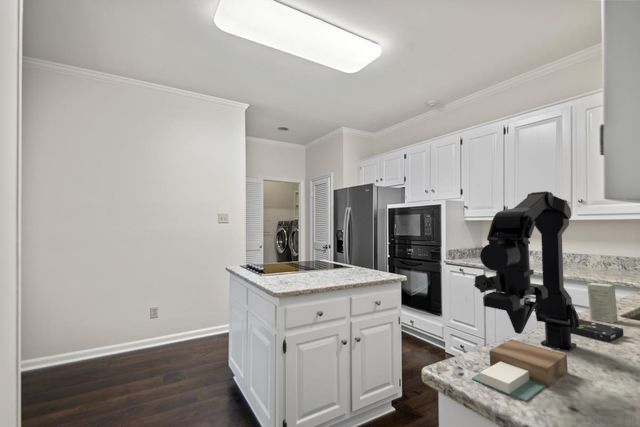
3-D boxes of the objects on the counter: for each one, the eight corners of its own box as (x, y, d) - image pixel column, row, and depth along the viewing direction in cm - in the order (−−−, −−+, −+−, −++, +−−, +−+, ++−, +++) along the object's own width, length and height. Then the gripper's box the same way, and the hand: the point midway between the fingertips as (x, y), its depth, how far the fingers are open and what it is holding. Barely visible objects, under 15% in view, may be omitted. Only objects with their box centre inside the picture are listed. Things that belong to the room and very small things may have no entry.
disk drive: (624, 337, 92) (565, 323, 105) (623, 328, 92) (564, 315, 105) (609, 345, 87) (549, 329, 100) (609, 335, 87) (549, 320, 100)
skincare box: (618, 321, 104) (616, 284, 104) (613, 323, 102) (611, 286, 102) (593, 316, 110) (591, 281, 110) (588, 318, 107) (586, 283, 108)
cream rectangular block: (501, 369, 73) (500, 361, 73) (529, 380, 68) (528, 370, 68) (480, 381, 68) (479, 372, 68) (509, 393, 63) (508, 383, 63)
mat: (492, 367, 75) (492, 366, 75) (545, 386, 66) (545, 385, 66) (471, 379, 70) (471, 377, 70) (526, 401, 61) (526, 400, 61)
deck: (511, 354, 81) (511, 339, 81) (567, 372, 71) (566, 354, 72) (490, 366, 75) (489, 350, 75) (548, 387, 65) (547, 368, 65)
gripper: (498, 258, 84) (501, 316, 83) (459, 266, 73) (462, 332, 73) (546, 262, 75) (550, 327, 74) (509, 271, 64) (513, 347, 64)
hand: (518, 333), depth 71 cm, fingers closed
